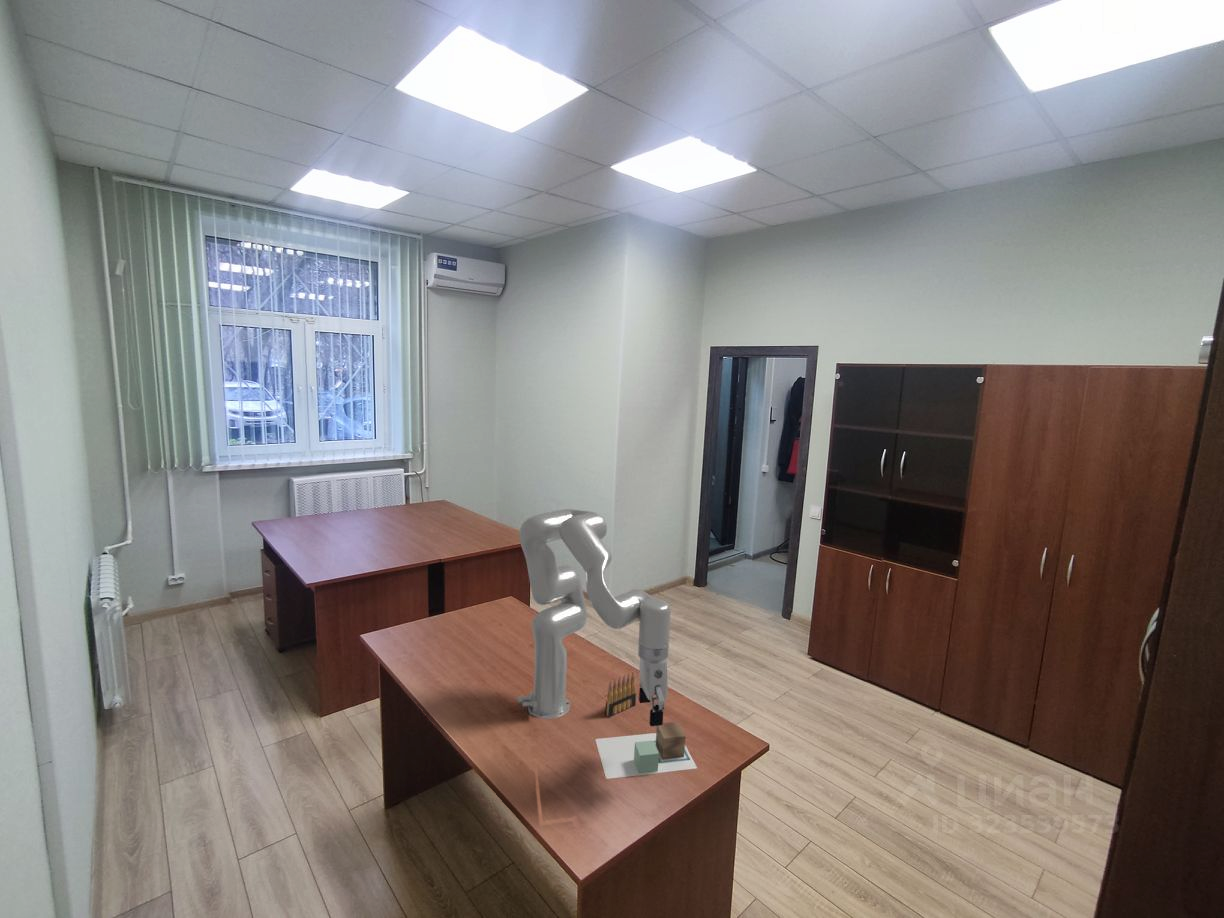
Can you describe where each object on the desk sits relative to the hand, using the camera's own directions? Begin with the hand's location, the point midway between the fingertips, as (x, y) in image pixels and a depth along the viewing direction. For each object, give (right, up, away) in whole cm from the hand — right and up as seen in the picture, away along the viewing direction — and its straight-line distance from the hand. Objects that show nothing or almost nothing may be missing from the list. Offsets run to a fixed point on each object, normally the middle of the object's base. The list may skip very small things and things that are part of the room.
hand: (650, 713), depth 134 cm
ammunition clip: (-7, -12, +25) cm, 29 cm away
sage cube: (-1, -15, +2) cm, 15 cm away
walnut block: (+6, -14, +8) cm, 17 cm away
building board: (-1, -15, +7) cm, 17 cm away
